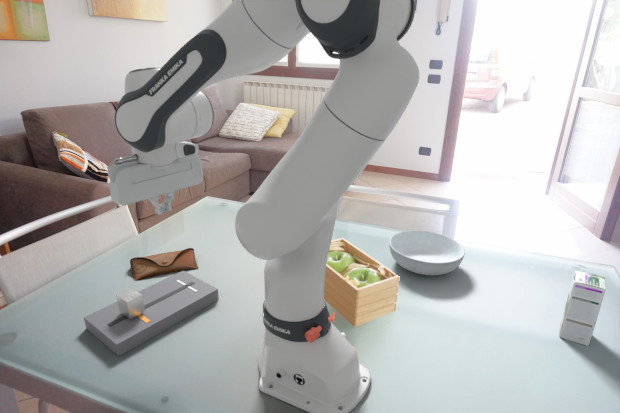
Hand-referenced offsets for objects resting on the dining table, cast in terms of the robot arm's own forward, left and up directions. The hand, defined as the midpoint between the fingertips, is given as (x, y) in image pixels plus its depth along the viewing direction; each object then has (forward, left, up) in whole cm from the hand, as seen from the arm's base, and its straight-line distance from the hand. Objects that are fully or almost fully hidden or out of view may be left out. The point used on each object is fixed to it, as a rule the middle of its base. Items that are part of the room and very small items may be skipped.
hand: (163, 212), depth 89 cm
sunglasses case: (+19, -10, -26) cm, 33 cm away
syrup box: (-77, -50, -25) cm, 95 cm away
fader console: (+2, +4, -25) cm, 25 cm away
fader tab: (+2, +9, -22) cm, 24 cm away
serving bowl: (-38, -58, -25) cm, 74 cm away
